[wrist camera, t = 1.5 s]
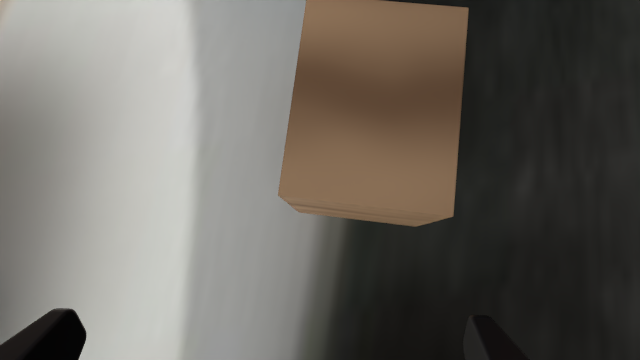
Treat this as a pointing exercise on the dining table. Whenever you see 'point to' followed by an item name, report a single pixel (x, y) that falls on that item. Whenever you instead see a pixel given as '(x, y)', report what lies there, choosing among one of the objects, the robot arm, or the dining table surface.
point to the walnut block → (376, 111)
